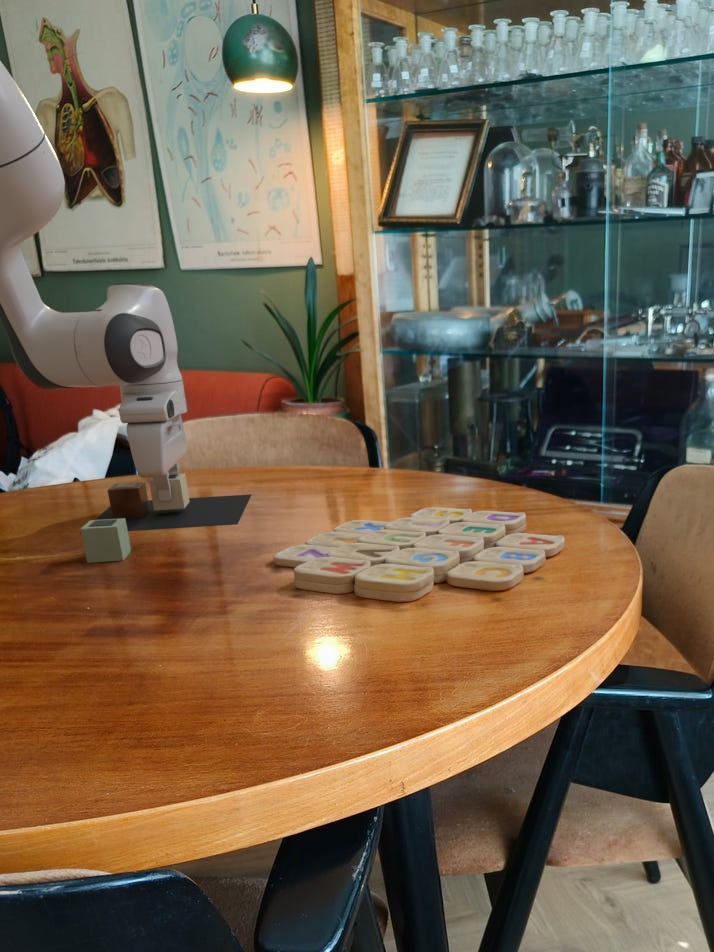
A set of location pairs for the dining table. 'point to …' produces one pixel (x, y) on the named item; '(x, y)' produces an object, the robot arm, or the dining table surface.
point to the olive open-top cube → (105, 540)
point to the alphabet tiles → (420, 554)
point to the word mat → (190, 514)
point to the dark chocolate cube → (128, 500)
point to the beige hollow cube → (178, 491)
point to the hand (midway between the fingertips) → (169, 495)
